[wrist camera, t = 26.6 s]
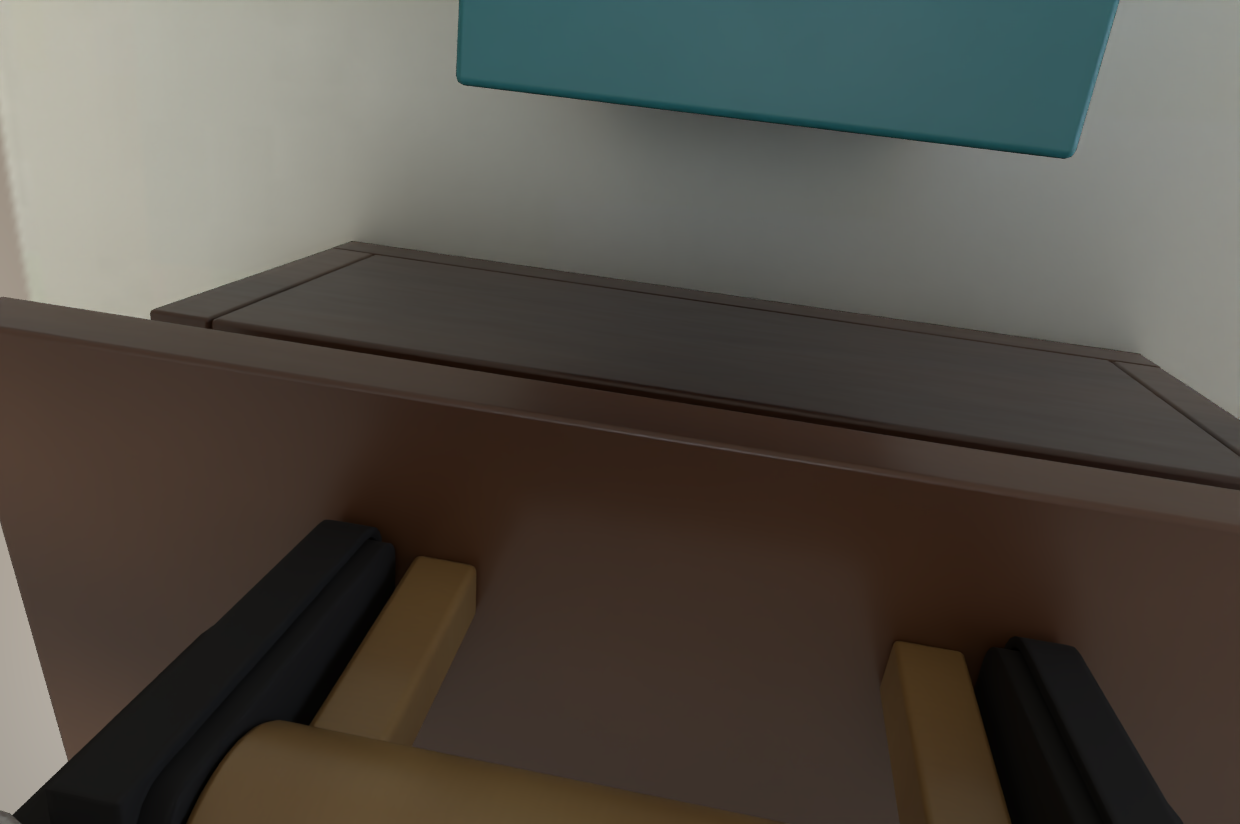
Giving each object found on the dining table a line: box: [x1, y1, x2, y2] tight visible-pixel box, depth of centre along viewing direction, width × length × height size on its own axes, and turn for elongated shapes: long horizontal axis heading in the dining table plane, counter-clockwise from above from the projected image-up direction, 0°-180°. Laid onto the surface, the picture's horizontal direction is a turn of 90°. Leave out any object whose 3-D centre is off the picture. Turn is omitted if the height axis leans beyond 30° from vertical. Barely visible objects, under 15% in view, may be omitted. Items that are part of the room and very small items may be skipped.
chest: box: [150, 241, 1240, 491], centre depth 18 cm, size 20×16×6 cm
